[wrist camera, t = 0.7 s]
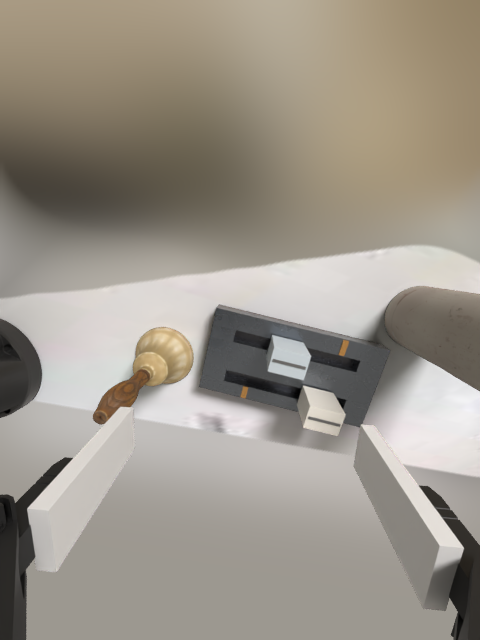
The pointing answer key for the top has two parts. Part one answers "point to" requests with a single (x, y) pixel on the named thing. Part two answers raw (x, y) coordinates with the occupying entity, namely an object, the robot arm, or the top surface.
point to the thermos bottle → (439, 328)
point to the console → (260, 385)
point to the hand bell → (149, 369)
